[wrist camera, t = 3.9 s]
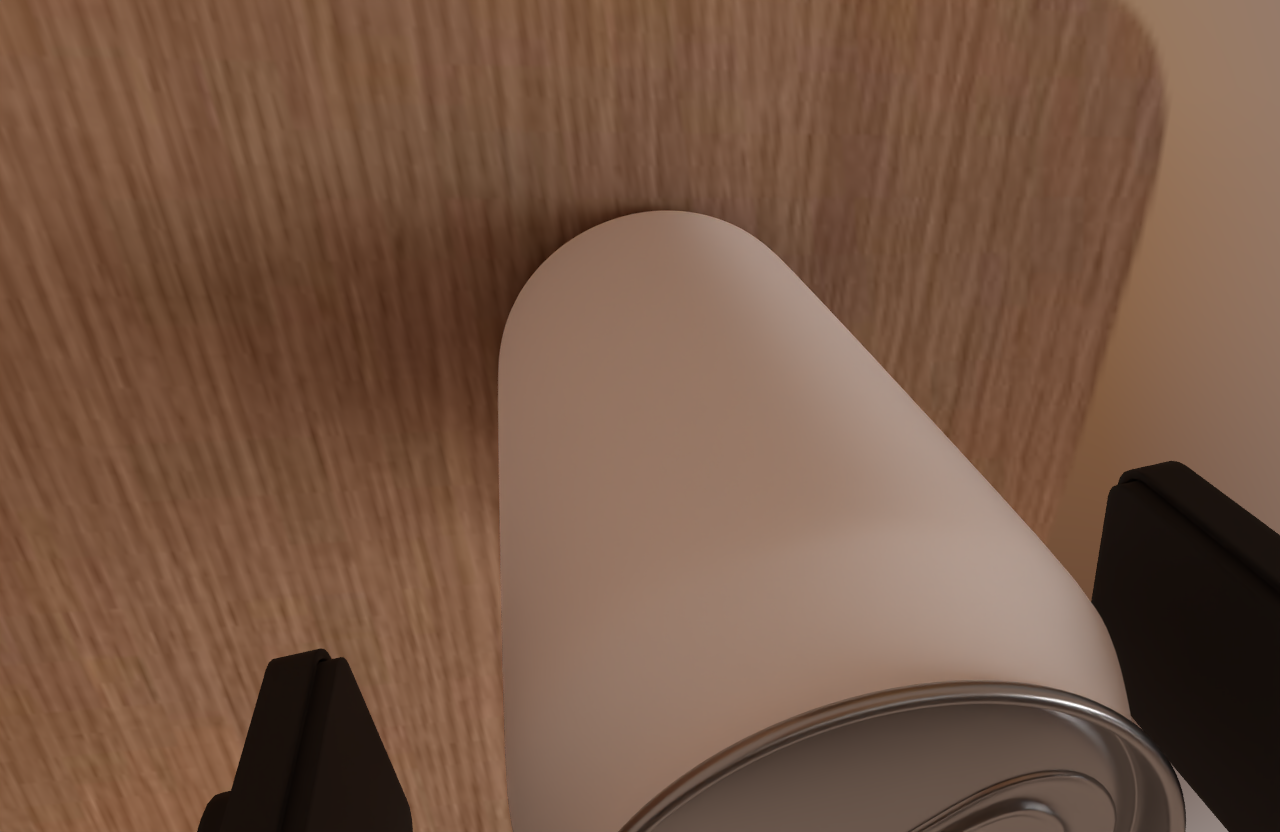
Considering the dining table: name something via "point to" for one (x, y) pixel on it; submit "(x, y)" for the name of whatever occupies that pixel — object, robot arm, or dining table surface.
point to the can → (774, 575)
